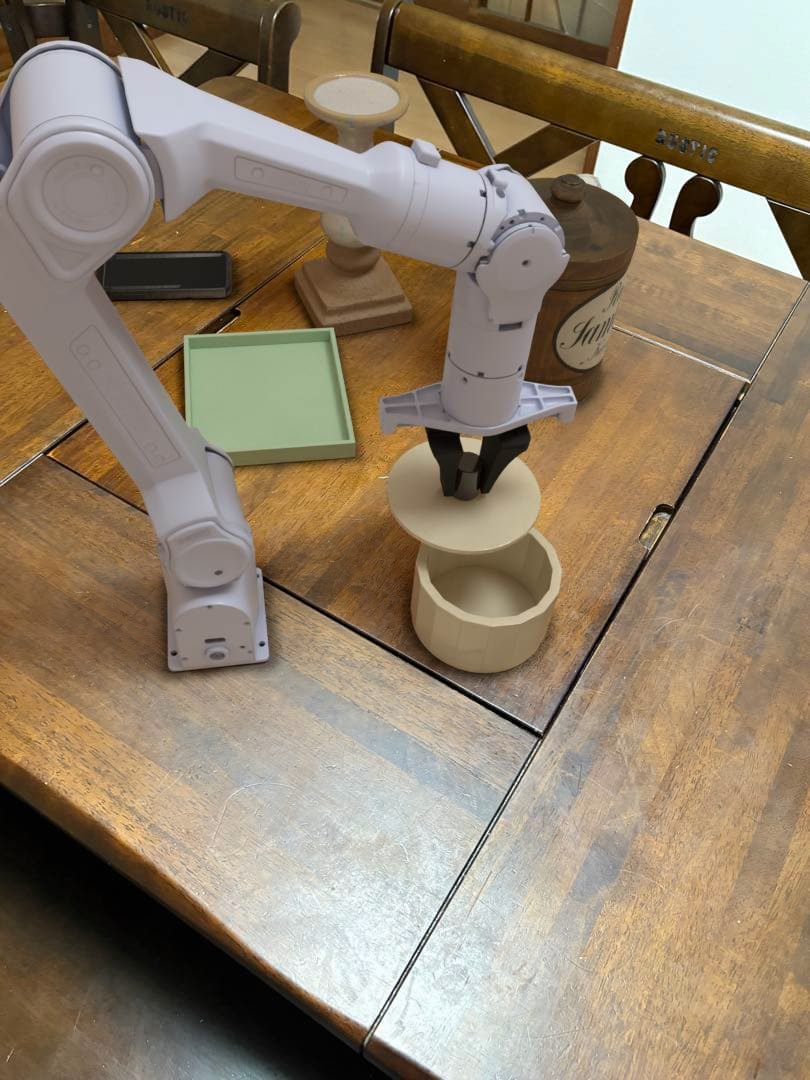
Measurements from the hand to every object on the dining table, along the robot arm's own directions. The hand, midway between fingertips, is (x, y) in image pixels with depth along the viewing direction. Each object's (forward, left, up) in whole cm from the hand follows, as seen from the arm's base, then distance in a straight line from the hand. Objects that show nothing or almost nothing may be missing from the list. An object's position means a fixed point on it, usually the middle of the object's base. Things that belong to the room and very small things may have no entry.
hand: (464, 486), depth 74 cm
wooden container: (+26, -14, -11) cm, 32 cm away
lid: (0, 0, -1) cm, 1 cm away
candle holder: (+39, +4, -11) cm, 41 cm away
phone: (+45, +25, -10) cm, 53 cm away
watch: (+45, -24, -11) cm, 53 cm away
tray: (+23, +15, -10) cm, 30 cm away
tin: (-6, -1, -10) cm, 12 cm away
